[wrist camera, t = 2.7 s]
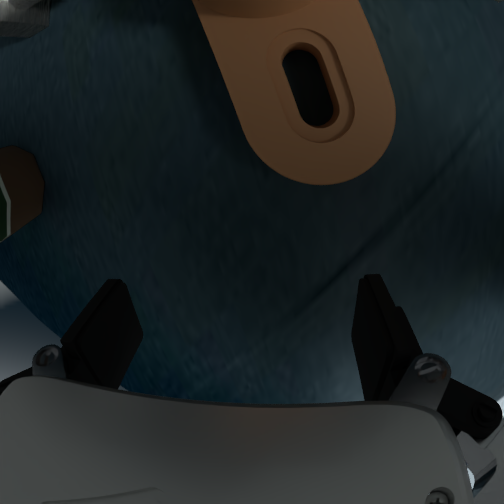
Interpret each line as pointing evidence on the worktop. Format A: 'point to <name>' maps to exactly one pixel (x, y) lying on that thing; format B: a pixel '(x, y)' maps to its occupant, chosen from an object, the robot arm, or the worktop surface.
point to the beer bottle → (18, 190)
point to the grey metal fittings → (27, 17)
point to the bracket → (279, 92)
